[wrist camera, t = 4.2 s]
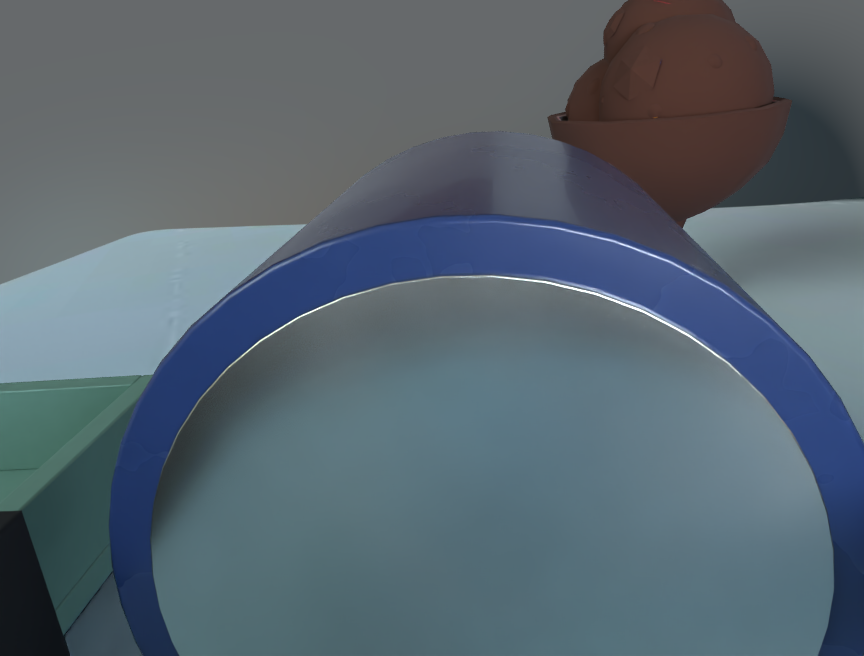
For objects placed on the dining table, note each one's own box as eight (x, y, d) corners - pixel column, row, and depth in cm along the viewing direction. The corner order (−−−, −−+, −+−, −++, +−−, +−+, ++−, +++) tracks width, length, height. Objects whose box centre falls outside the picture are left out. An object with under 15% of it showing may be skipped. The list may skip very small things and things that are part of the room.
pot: (325, 523, 23) (254, 155, 19) (700, 507, 21) (704, 106, 17) (195, 863, 13) (4, 259, 9) (858, 873, 12) (938, 171, 8)
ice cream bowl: (524, 288, 43) (507, 3, 37) (701, 258, 45) (707, -16, 39) (607, 350, 33) (599, -24, 28) (828, 309, 35) (858, -47, 30)
